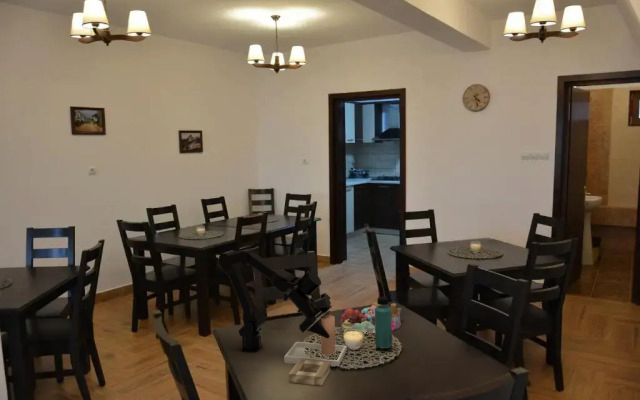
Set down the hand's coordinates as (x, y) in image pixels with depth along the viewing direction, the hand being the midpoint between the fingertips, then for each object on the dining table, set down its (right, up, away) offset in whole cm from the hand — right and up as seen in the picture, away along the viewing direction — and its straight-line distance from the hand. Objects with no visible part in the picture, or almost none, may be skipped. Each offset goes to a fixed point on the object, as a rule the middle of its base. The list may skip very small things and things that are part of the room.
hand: (331, 334), depth 182 cm
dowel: (-1, -6, +1) cm, 7 cm away
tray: (-6, -9, +4) cm, 12 cm away
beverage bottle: (+20, -8, +10) cm, 24 cm away
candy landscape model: (+19, -6, +36) cm, 41 cm away
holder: (-8, -11, -11) cm, 17 cm away
